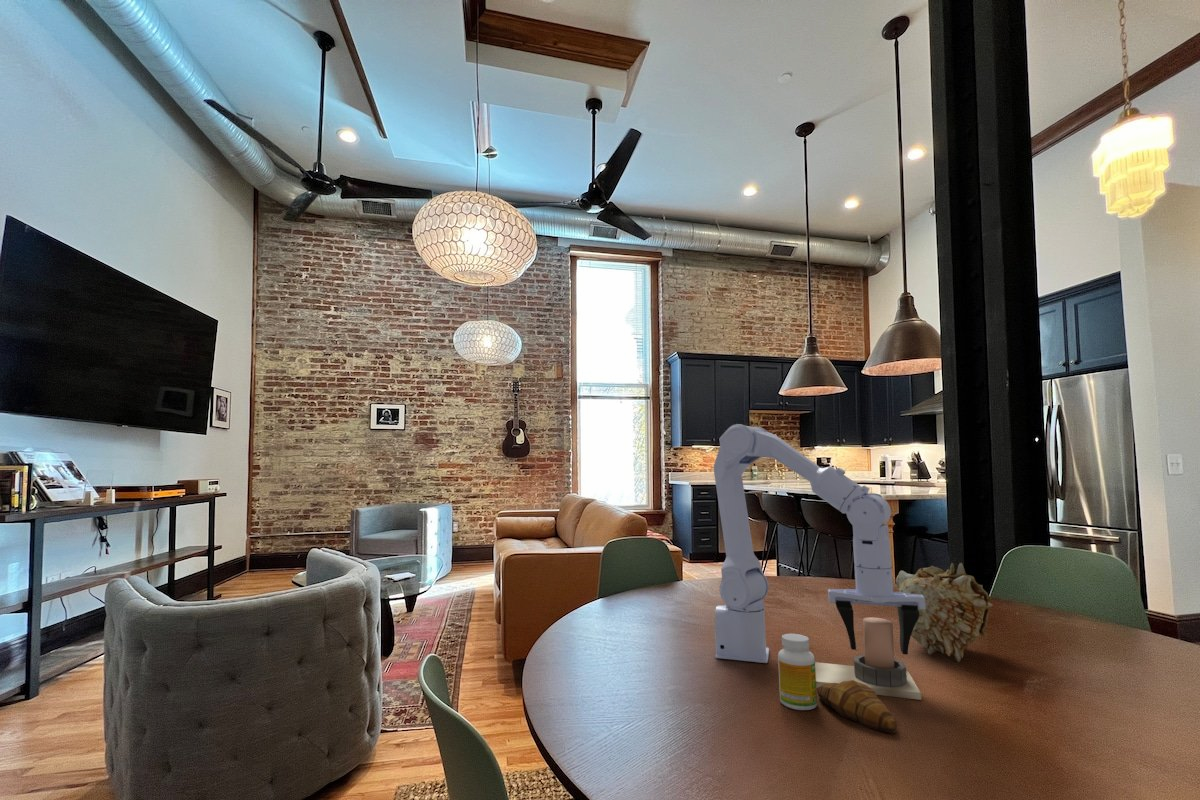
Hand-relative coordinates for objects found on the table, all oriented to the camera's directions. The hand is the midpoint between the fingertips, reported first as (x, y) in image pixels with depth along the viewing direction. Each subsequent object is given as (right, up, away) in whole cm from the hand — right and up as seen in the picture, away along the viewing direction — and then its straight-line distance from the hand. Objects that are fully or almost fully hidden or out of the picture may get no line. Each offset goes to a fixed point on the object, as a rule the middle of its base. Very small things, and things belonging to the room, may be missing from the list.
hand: (878, 650), depth 92 cm
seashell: (+21, -7, +15) cm, 27 cm away
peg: (0, -4, 0) cm, 4 cm away
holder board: (-5, -6, +1) cm, 7 cm away
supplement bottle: (-16, -5, -8) cm, 19 cm away
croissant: (-9, -5, -12) cm, 15 cm away
